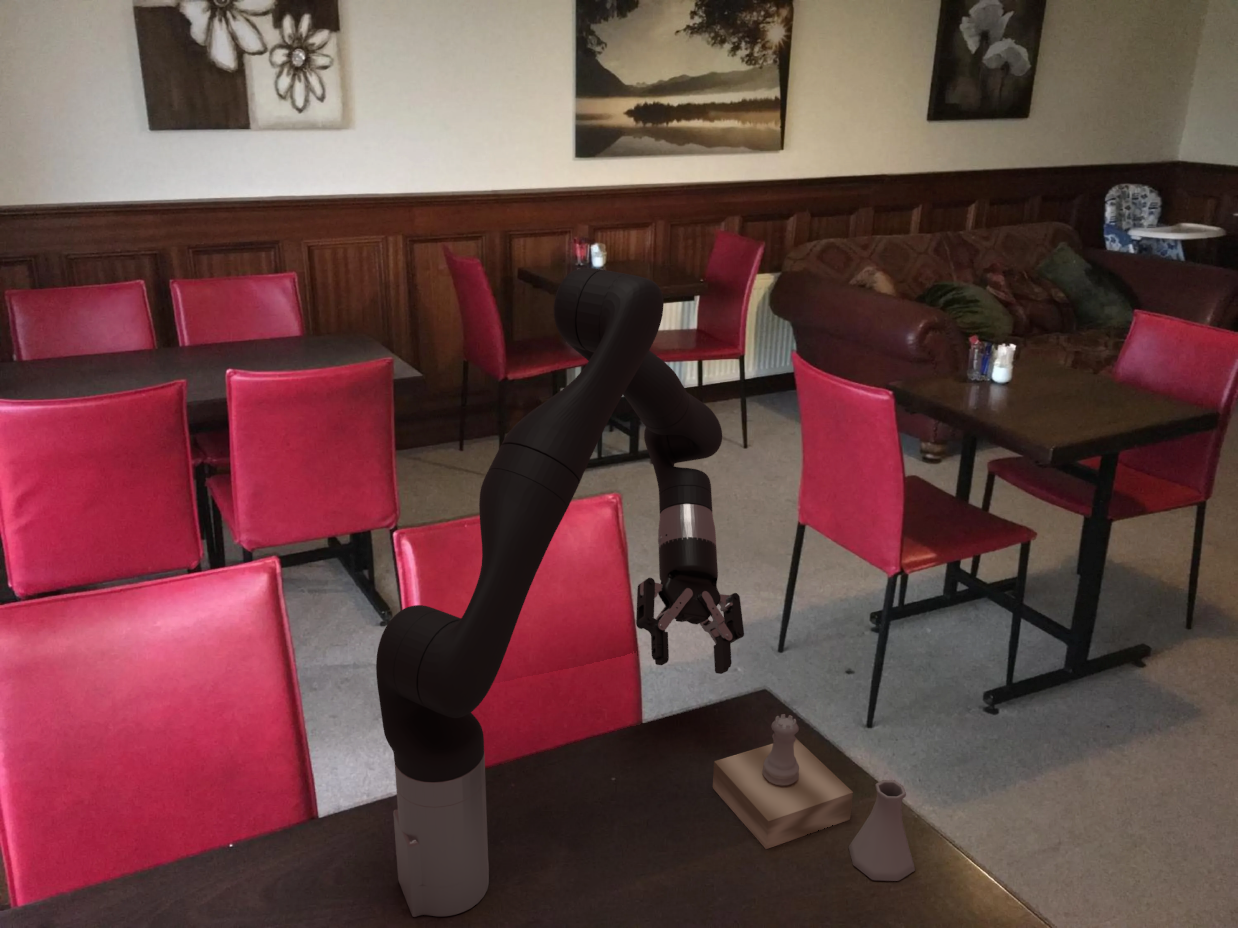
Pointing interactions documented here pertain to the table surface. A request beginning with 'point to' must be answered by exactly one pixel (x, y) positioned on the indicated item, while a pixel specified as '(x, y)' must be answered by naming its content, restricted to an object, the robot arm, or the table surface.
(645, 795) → the table surface
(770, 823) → the maple plinth
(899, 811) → the flask
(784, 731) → the rook chess piece
